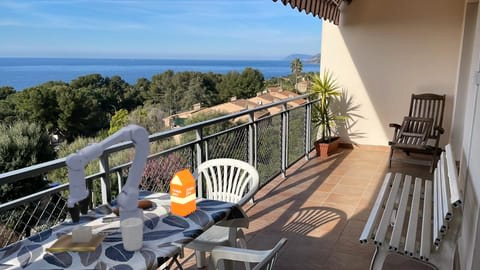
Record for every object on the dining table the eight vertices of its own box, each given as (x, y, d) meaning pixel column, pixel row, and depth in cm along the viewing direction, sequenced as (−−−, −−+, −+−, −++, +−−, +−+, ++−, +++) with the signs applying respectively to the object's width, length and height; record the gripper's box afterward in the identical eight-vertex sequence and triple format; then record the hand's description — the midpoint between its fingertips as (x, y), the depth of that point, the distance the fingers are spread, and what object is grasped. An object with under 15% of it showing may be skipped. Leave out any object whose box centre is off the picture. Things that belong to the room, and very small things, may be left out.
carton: (88, 242, 143) (87, 230, 142) (72, 242, 143) (71, 230, 142) (92, 237, 147) (91, 225, 146) (76, 237, 147) (75, 225, 146)
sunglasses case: (144, 202, 187) (147, 193, 184) (150, 212, 183) (153, 203, 180) (109, 211, 175) (111, 202, 172) (115, 222, 172) (117, 213, 168)
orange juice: (196, 210, 176) (194, 169, 173) (183, 216, 169) (182, 174, 166) (183, 207, 180) (182, 167, 177) (170, 213, 173) (169, 171, 170)
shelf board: (107, 235, 150) (107, 231, 150) (94, 252, 136) (94, 248, 136) (63, 236, 150) (62, 232, 150) (45, 253, 136) (44, 249, 136)
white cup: (132, 254, 135) (130, 228, 133) (117, 248, 139) (116, 223, 137) (148, 245, 141) (147, 220, 140) (133, 240, 146) (132, 216, 144)
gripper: (75, 179, 149) (78, 211, 151) (57, 190, 134) (61, 226, 137) (92, 179, 149) (95, 211, 151) (77, 190, 134) (80, 226, 137)
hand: (80, 218), depth 144 cm, fingers open, 7 cm apart
